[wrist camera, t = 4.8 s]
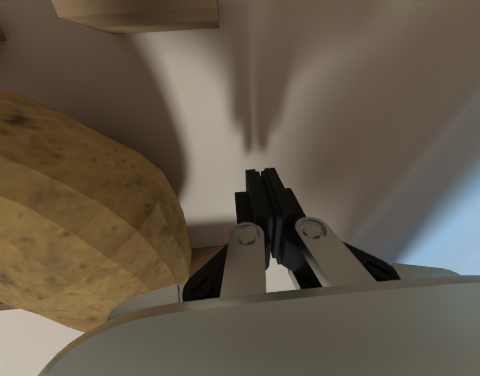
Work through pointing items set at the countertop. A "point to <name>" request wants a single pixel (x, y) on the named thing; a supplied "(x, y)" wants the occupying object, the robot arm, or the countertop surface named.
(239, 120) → the countertop surface
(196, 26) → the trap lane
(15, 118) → the potato
